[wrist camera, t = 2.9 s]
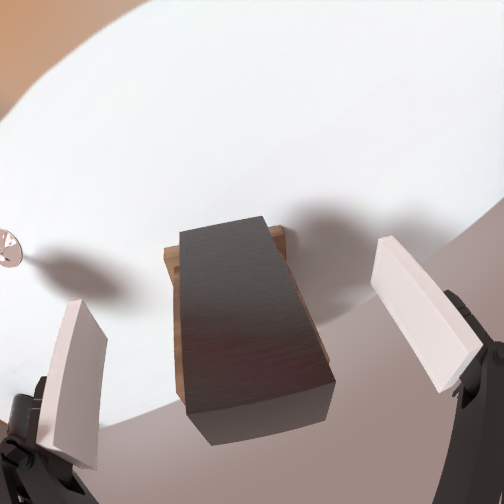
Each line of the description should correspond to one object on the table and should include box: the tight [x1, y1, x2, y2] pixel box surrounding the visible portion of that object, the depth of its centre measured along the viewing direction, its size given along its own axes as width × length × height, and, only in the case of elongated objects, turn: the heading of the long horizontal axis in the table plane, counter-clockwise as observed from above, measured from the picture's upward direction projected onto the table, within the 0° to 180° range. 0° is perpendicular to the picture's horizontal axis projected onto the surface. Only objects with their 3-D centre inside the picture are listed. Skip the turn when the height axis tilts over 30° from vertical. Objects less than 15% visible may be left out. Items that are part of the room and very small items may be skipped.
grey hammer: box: [179, 216, 336, 446], centre depth 15 cm, size 16×4×9 cm, turn 7°
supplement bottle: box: [7, 394, 34, 444], centre depth 32 cm, size 7×7×12 cm
